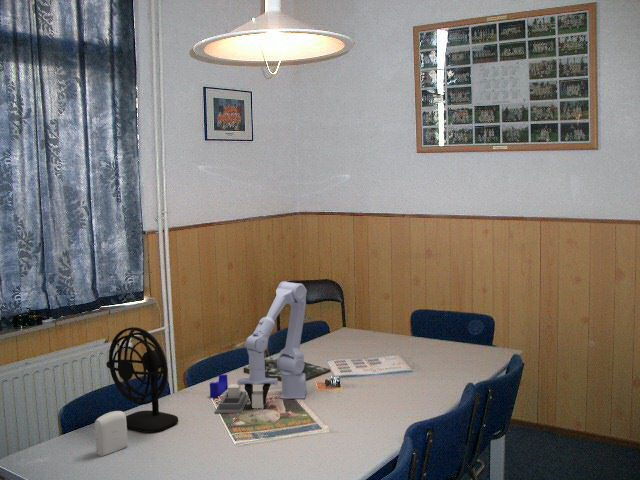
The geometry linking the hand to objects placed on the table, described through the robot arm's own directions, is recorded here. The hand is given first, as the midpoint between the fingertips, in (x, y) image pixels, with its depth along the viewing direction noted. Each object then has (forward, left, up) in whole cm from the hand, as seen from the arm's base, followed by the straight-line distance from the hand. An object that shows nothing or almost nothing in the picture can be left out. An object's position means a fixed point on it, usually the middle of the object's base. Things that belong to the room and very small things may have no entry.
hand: (258, 403), depth 266 cm
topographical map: (-6, -47, -2) cm, 47 cm away
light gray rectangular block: (0, 0, -1) cm, 1 cm away
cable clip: (+19, -17, -2) cm, 25 cm away
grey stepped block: (+10, -3, -1) cm, 11 cm away
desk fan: (+37, +17, -2) cm, 41 cm away
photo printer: (+41, +40, -2) cm, 57 cm away
